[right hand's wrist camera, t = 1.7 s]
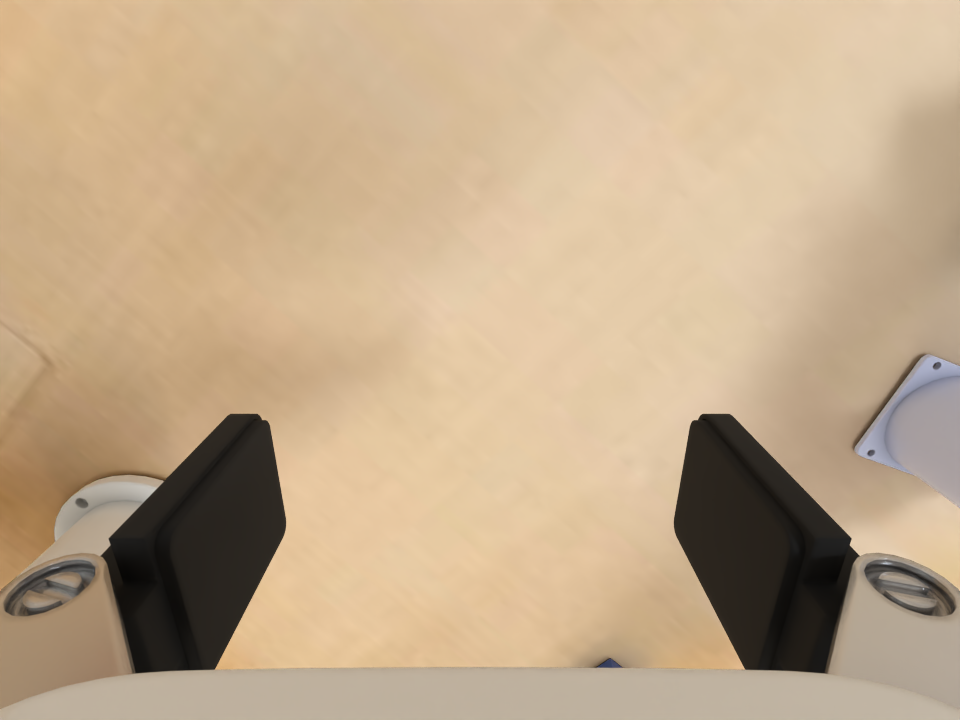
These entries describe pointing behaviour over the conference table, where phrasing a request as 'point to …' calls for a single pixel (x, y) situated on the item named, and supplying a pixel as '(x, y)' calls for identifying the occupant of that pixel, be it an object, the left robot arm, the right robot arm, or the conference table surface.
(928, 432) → the left robot arm
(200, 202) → the conference table surface
